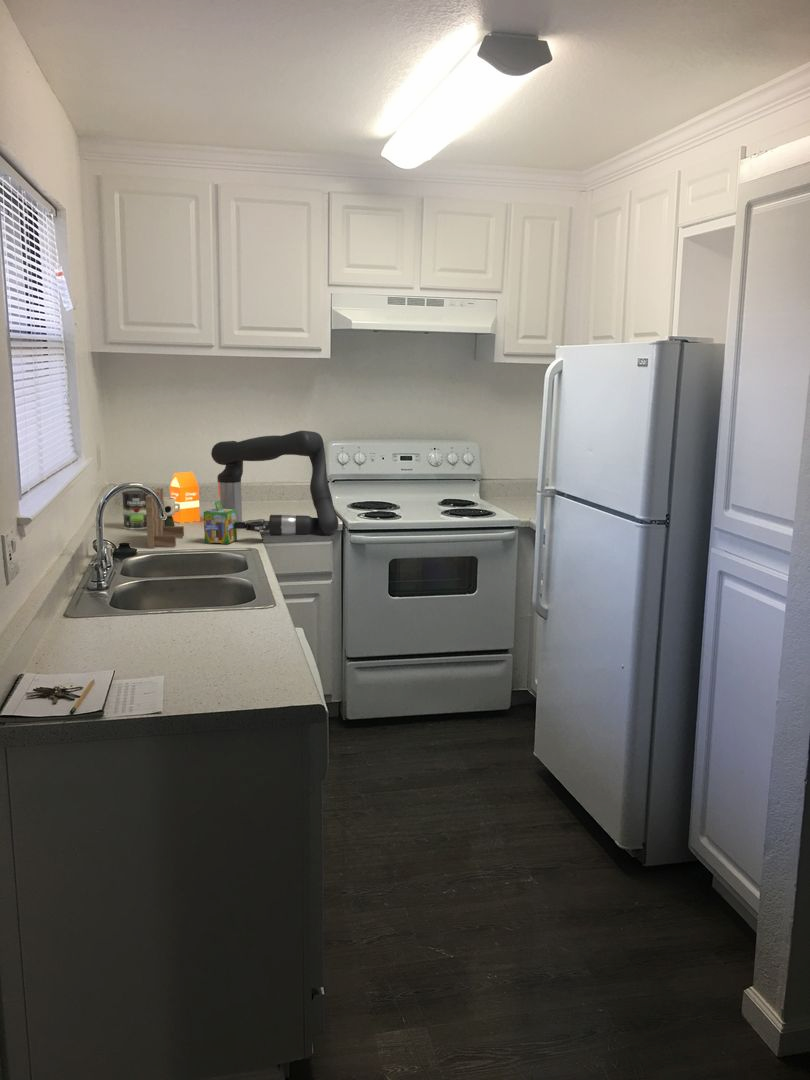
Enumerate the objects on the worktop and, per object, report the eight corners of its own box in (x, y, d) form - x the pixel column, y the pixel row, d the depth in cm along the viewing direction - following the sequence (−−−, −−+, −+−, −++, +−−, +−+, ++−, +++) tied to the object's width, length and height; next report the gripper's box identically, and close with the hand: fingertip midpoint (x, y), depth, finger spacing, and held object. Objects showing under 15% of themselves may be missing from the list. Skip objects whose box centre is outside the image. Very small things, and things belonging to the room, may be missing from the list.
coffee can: (151, 529, 334) (149, 493, 332) (123, 530, 332) (121, 493, 329) (151, 525, 344) (150, 489, 342) (124, 526, 342) (122, 490, 339)
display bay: (159, 536, 320) (157, 488, 316) (184, 536, 320) (182, 488, 317) (147, 548, 298) (145, 496, 295) (174, 548, 299) (172, 496, 296)
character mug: (149, 534, 325) (148, 499, 322) (154, 530, 332) (153, 497, 329) (178, 534, 325) (177, 500, 323) (183, 530, 332) (182, 497, 330)
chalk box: (228, 544, 306) (227, 503, 303) (203, 543, 307) (202, 502, 305) (238, 540, 315) (237, 499, 312) (214, 539, 316) (213, 498, 314)
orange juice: (170, 521, 354) (168, 472, 350) (189, 518, 360) (187, 471, 356) (181, 523, 348) (179, 474, 345) (200, 521, 355) (198, 472, 351)
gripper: (283, 512, 318) (235, 512, 316) (282, 517, 305) (232, 517, 303) (283, 532, 319) (236, 532, 318) (282, 538, 306) (232, 539, 305)
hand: (234, 525), depth 310 cm, fingers closed
